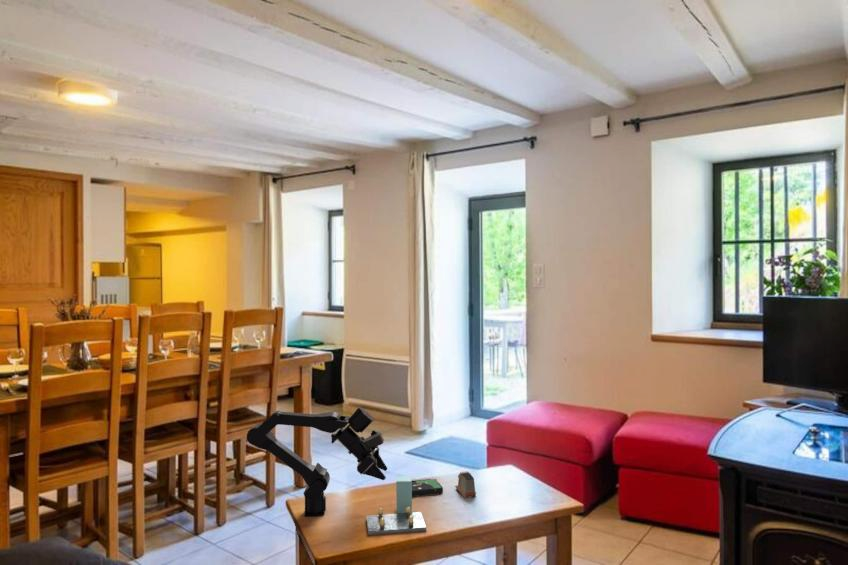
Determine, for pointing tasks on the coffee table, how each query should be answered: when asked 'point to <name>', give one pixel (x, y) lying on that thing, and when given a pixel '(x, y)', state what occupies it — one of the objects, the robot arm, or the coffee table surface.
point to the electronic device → (466, 484)
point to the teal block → (404, 493)
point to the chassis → (395, 522)
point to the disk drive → (426, 487)
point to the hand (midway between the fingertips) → (385, 474)
